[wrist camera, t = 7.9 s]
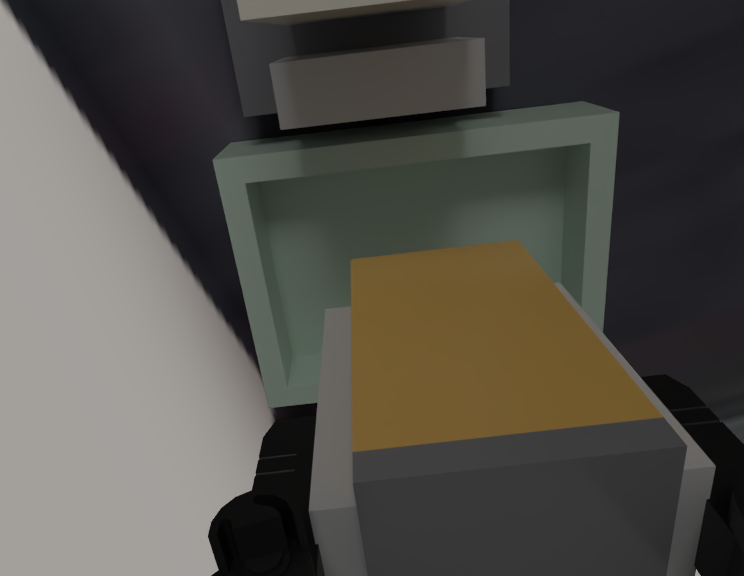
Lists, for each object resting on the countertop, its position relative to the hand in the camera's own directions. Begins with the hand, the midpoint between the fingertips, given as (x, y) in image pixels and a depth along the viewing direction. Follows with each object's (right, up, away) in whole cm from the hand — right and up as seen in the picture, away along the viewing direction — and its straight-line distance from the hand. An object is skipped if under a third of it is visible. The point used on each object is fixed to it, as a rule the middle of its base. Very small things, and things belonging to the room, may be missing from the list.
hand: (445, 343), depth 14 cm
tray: (0, +3, +6) cm, 7 cm away
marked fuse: (0, 0, +1) cm, 1 cm away
